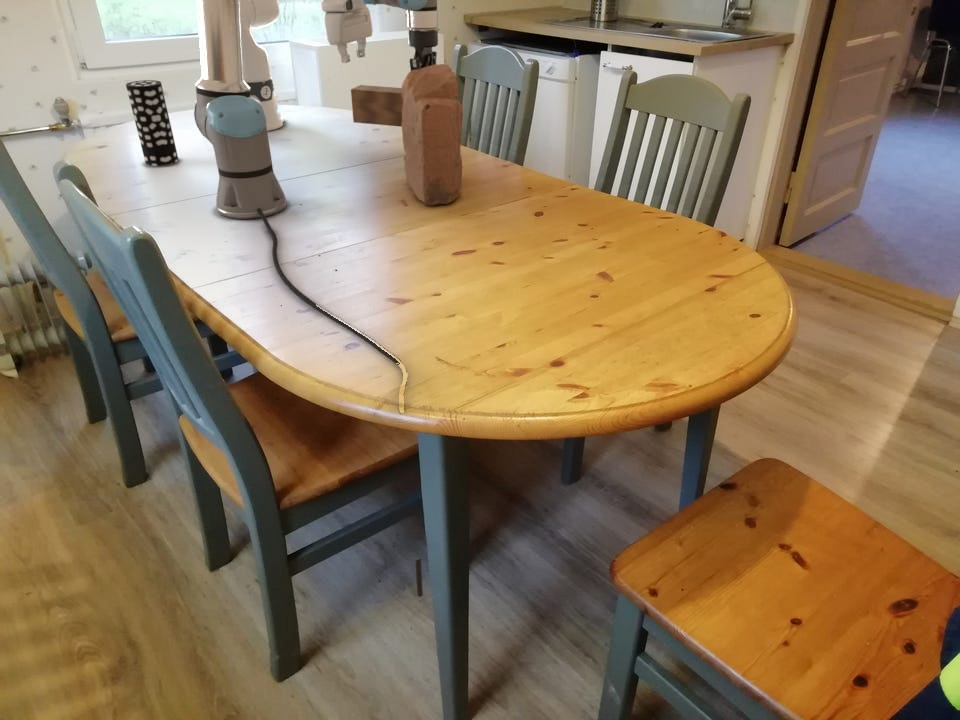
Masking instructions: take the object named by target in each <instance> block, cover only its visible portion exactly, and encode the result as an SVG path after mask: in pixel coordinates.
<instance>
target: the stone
mask: <svg viewBox="0 0 960 720" xmlns="http://www.w3.org/2000/svg"><path fill="white" fill-rule="evenodd" d="M400 88H401V94H402V98H403V109H402V127H401V133H402V145H403V150H404V155H403V164H404V165H403V166H404V175H405V177H406V181H407V183H408V184H409V187H410V189H412V191H413V193H414V195H415V196H416V197H417V198H418V200H419V201H422V203H423V205H425V206H436V205H447V204H449V203H452V202H454V200H455V199H457V198H459V197H460V192H461V189H462V185H463V178H462V177H463V159H462V154H461V152H462V151H461V144H462V129H463V119H464V118H463V117H464V108H463V104H461V103H460V100H459V84H458V81H457V76H456V73H455V72H453V70H452V68H451V67H450V65H448V64H446V63H440V64H436V65H431V66H427V67H424V68H421V69H417V70H412V71H411V70H410V71H409V72H408V73H407V75H406V76H405V78H404V80H403V82H402V85H401V87H400Z"/></svg>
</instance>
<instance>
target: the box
mask: <svg viewBox="0 0 960 720" xmlns="http://www.w3.org/2000/svg"><path fill="white" fill-rule="evenodd" d="M350 95H351V96H350V97H351V109H352V119H353V123H355V124H365V125H367V124H368V125H379V126H390V127H401V128H402V109H403V98H402V94H401V87H395V86H394V87H392V86H380V85H366V84H365V85H364V84H359V85H357V86H355V87H353V88H351V89H350Z"/></svg>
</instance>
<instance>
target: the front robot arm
mask: <svg viewBox="0 0 960 720" xmlns="http://www.w3.org/2000/svg"><path fill="white" fill-rule="evenodd" d="M361 1H362V2H363V3H364V4H366V5H373V6H376V5H386V6H389V7H393V8H398V9H402V10H405V11H406V13H405V17H406V18H407V19H406V21H407V27H408V28H409V29H408V30H407V44H408V46H409V47H411V48H414V53H413V58H409V67H410V71H412V70H417V69H421V68H424V67H427V66H431V65H437V55H438V53H437V51H433V48H435V47H437V46H438V45H439V32H438V30H437V28H438V27H439V22H438V21H439V16H438V0H361ZM196 8H197V9H196V10H197V21H198V24H197V25H198V37H199V48H200V49H199V51H200V65H201V77H200V79H199V80H197V82H196V83H195V95H196V101H195V103H194V109H193V116H194V121H195V124H196V127H197V129H198V131H199V132H200V134H201V135H202V136H203V137H204V138H205V139H206V140H207V141H208V142H209V143H210V144H211V145H212V147H213V151H214V156H215V161H216V167H217V169H218V170H217V172H218V185H217V193H216V201H215V203H216V204H215V206H216V210H217V213H218V214H219V215H221V216H223V217H225V218H229V219H236V220H253V219H260V218H261V220H262V222H263V224H264V226H265V228H266V230H267V232H268V233H269V234H270V236H271V238H272V250H271V253H272V261H273V265H274V267H275V270H276V272H277V274H278V275H279V277H280V279H281V281H282V282H283V284H285V285H286V287H287V288H288V289H289V290H290V291H291V292H292V293H293V294H295V295H296V296H297V297H298V298H299V299H300V300H302V301H303V302H305V303H306V304H307V305H308V306H310V307H311V308H312V309H314V310H316V311H318V312H319V313H320V314H322V315H324V316H325V317H326V318H328V319H330V320H331V321H333V322H335V323H336V324H338V325H340V326H341V327H343V328H345V329H346V330H348V331H349V332H351V333H352V334H354V335H356V336H357V337H358V338H360V339H362V340H363V341H364V342H366V343H368V345H370V346H371V347H373V348H374V349H375V350H376V351H378V352H379V353H380V354H382V355H383V356H385V357H386V358H388V359H389V360H390V361H392V362H393V363H394V364H395V365H396V363H399V362H398V361H397V360H396V359H395V358H393V357H392V356H391V355H389V354H388V353H387V352H385V351H384V350H382V349H381V348H380V347H378V346H377V345H376V344H375V343H373V342H372V341H370V340H369V339H368V338H366V337H365V336H363V335H362V334H360V333H358V332H357V331H355V330H354V329H352V328H351V327H349V326H348V325H346V324H344V323H343V322H341V321H339V320H338V319H336V318H334V317H333V316H331V315H330V314H328V313H327V312H325V311H323V310H322V309H320V308H319V307H317V306H316V304H317V305H319V304H318V303H316V302H314V301H313V300H312V299H310V298H309V297H308V296H306V295H305V294H304V293H302V291H300V290H299V289H298V288H297V287H295V286H294V285H293V283H292V282H291V281H290V280H289V279H288V277H287V276H286V275H285V272H284V271H283V270H282V268H281V265H280V261H279V257H278V238H277V235H276V233H275V231H274V230H273V228H272V227H271V224H270V222H269V221H268V219H267V217H270V216H274V215H276V214H278V213H280V212H282V211H283V210H285V209H286V207H287V199H286V194H285V193H284V191H283V189H282V187H281V184H280V182H279V180H278V179H277V177H276V175H275V172H274V167H273V160H272V154H271V147H270V140H269V135H268V134H269V133H268V131H267V126H266V116H265V114H264V110H263V107H262V105H261V104H260V102H258V101H257V100H255V99H253V98H250V87H249V86H248V85H247V84H246V83H245V82H244V81H243V76H242V54H241V32H240V9H239V0H196ZM319 306H320V305H319ZM320 307H322V306H320ZM327 311H328V312H330V311H329V310H327ZM330 313H331V312H330ZM331 314H333V313H331ZM348 324H349V323H348ZM349 325H351V324H349ZM356 329H357V328H356ZM357 330H359V329H357ZM359 331H360V332H362V331H361V330H359ZM362 333H363V334H365V333H364V332H362ZM365 335H366V336H368V335H367V334H365ZM368 337H369V338H371V337H370V336H368ZM371 339H372V340H374V339H373V338H371ZM374 341H375V342H377V341H376V340H374ZM378 344H379V343H378ZM379 345H380V346H382V345H381V344H379ZM383 348H384V349H386V348H385V347H383ZM386 350H387V351H389V350H388V349H386ZM393 355H394V356H396V355H395V354H393ZM398 359H399V360H400V361H402V360H401V359H400V358H398ZM399 364H400V363H399ZM399 364H397V365H399ZM397 365H396V366H397ZM399 414H401V413H399ZM401 415H402V414H401ZM415 580H416V594H417V597H419V598H421V597H422V596H424V595H423V594H424V593H423V591H424V589H423V574H422V558H419V559H416V560H415Z"/></svg>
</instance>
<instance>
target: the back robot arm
mask: <svg viewBox="0 0 960 720" xmlns="http://www.w3.org/2000/svg"><path fill="white" fill-rule="evenodd" d="M320 4H321V5H320V6H321V11H322V12H323V13H324V15H323V20H324V28H325V34H326V40H327V42H328V44H329V45H330V46H336V48H337V50H338V54H339V55H340V60H341V63H343V64H347V63H350V62H351V55H350V54H349V53H348V44H351V43H353V42H356V43H357V50H356V57H357V58H365V57H366V45H367V38H369V37H372V36H373V24H372V17H371V13H370V9H369V7H368V6H367V4H364V3H363V2H362V1H361V0H323V1H321V3H320ZM239 9H240V32H241V54H242V76H243V81H244V82H245V83H246V84H247V85H248V86H249V87H250V98H253V99H255V100H257V101H258V102H260V104H261V105H262V107H263V110H264V114H265V116H266V126H267V132H268V131H269V132H270V131H272V130H277V129H280V128H282V127H283V125H284V122H285V118H284V117H282V113H281V108H282V107H281V105H279V100H278V97H277V95H276V94H275V93H274V90H275V88H274V86H275V85H274V82H273V78H272V77H271V70H270V64H269V56H268V53H267V50H266V49H265V48H264V47H263V46H261V45H260V44H258V43H257V42H256V41H255V39H254V37H253V34H252V32H251V30H252V29H259V28H264V27H267V26H269V25H271V24H273V23H275V22H276V21H278V18H279V16H280V10H281V9H280V3H279V0H239Z"/></svg>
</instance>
